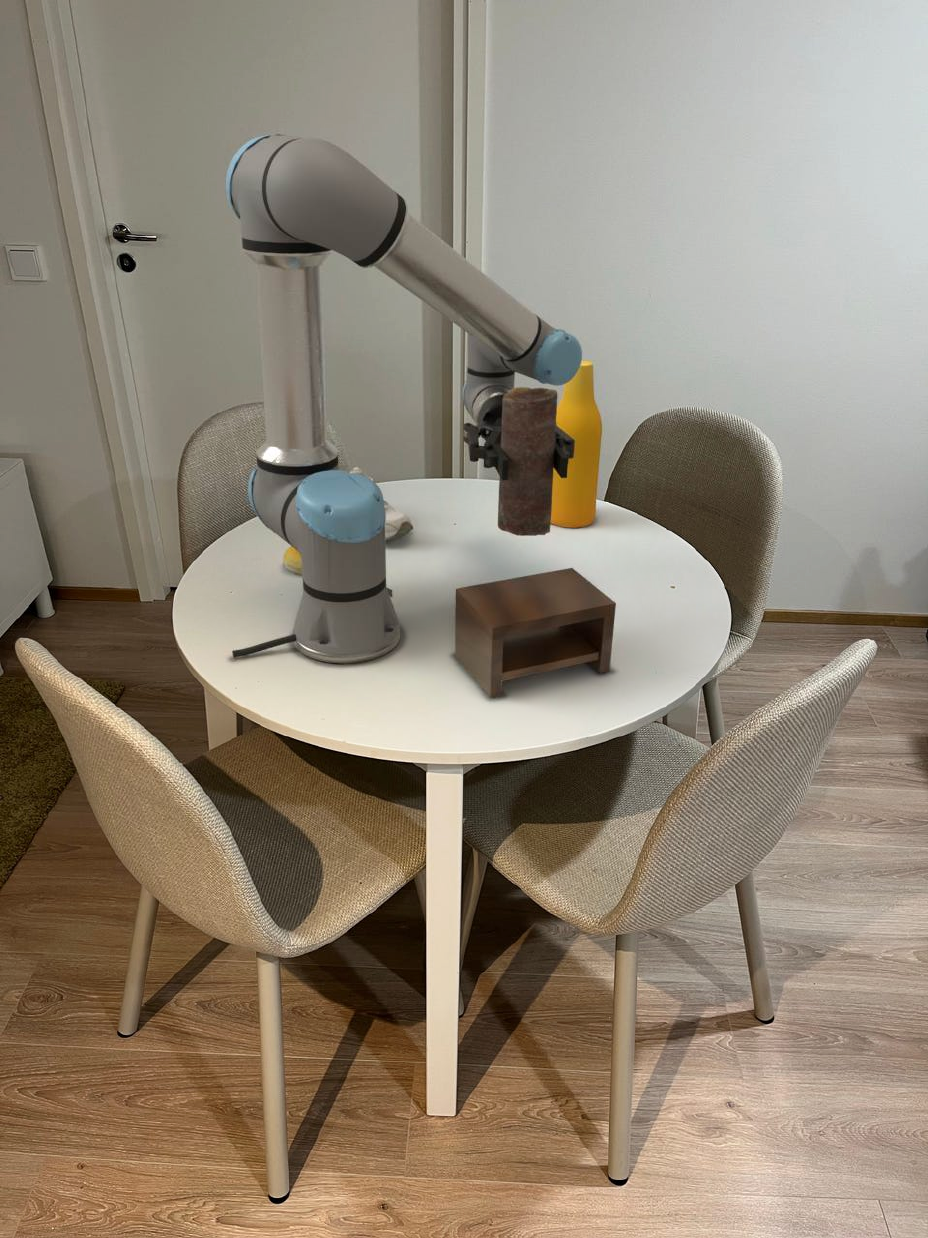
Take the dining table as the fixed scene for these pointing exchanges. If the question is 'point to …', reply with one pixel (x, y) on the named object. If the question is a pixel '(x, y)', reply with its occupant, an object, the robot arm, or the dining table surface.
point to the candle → (527, 460)
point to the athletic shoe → (391, 517)
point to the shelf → (532, 626)
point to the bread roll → (292, 560)
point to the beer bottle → (578, 452)
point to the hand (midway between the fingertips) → (535, 469)
